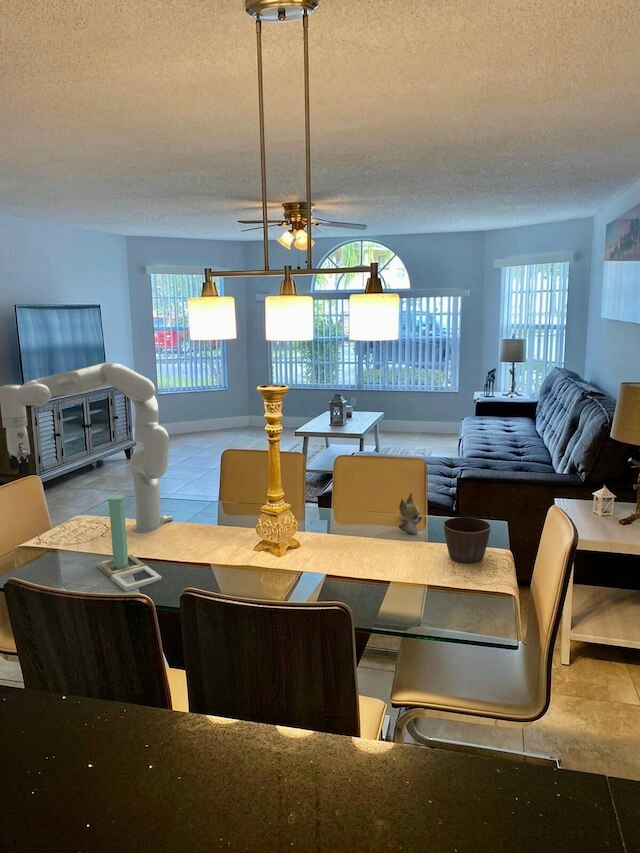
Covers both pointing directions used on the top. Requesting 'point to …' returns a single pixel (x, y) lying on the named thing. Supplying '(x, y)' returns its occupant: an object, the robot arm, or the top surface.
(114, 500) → the container
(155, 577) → the stand
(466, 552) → the plant pot
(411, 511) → the ceramic sculpture
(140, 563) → the stand
